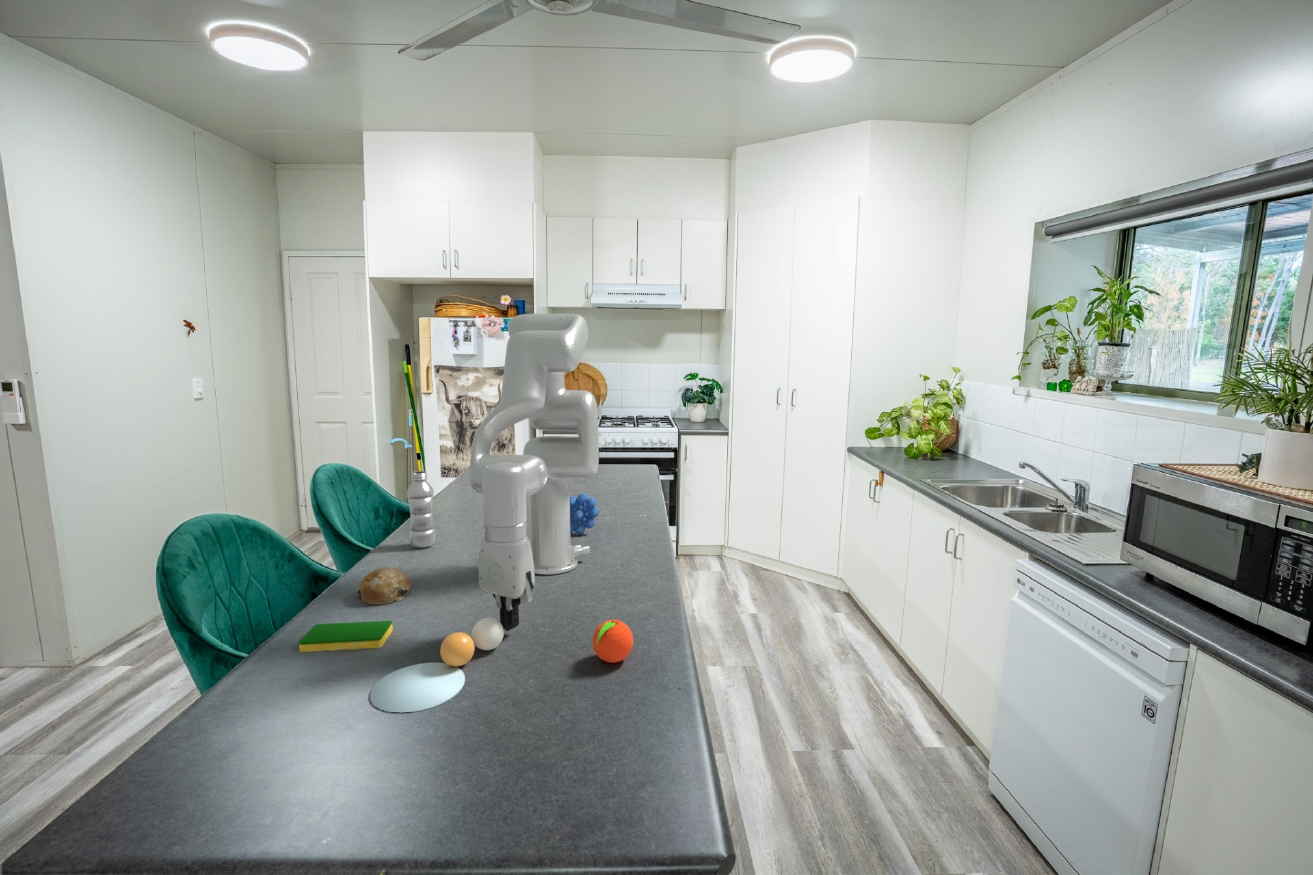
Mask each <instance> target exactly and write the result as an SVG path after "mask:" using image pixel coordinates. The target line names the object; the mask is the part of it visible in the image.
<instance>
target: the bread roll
mask: <svg viewBox="0 0 1313 875" xmlns="http://www.w3.org/2000/svg"><path fill="white" fill-rule="evenodd" d="M411 585H412V584H411V581H410V578H409V576H407V575H406V574H405V573H404V572H403V571H401V570H399V568H397V567H393V568H392V567H382V568H378V569H376V570H373V571H371V572H369V573H368V574H367V575H366V576H364V577H363V578H362V579H361V580H360V581H359V585H358V586H357V587H356V588H355V592H356V593H358V596H359V597H358V599H359V600H361V602H362V603H364V604H367V605H369V606H374V605H378V606H379V605H380V606H382V605H389V604H392V603H396V602H398V603H399V602H400V601H402V600H403V599H404V598H405V597H407V595H408V594H409V593H410V592H411V588H412V586H411Z"/></svg>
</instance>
